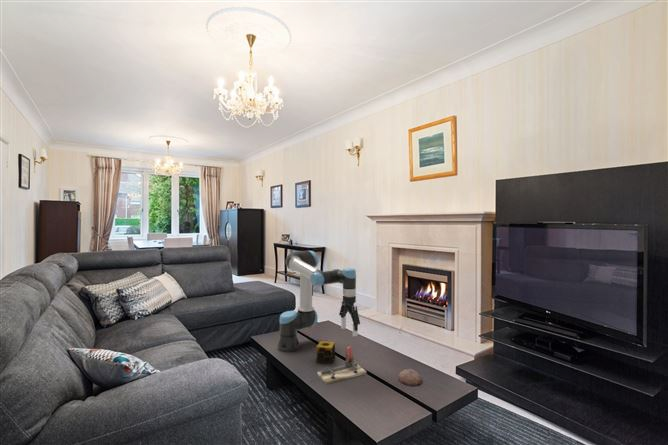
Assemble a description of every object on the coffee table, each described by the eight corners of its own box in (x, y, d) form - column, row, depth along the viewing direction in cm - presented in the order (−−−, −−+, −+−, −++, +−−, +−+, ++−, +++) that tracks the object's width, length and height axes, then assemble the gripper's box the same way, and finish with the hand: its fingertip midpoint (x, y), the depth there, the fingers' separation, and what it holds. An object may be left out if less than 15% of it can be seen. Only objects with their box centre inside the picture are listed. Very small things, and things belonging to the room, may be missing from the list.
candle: (332, 364, 193) (332, 348, 193) (315, 363, 195) (315, 346, 195) (335, 357, 203) (335, 341, 203) (320, 356, 205) (319, 340, 205)
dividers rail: (320, 373, 180) (320, 368, 180) (356, 364, 190) (356, 360, 190) (327, 380, 172) (327, 375, 172) (364, 371, 182) (364, 366, 182)
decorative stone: (413, 389, 166) (413, 378, 166) (393, 380, 174) (393, 370, 174) (425, 380, 174) (425, 370, 174) (406, 373, 183) (406, 363, 182)
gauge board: (317, 374, 181) (317, 371, 181) (355, 365, 192) (355, 362, 192) (326, 383, 170) (326, 381, 170) (366, 373, 182) (366, 371, 182)
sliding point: (344, 366, 188) (344, 346, 188) (351, 364, 190) (350, 345, 190) (353, 373, 179) (353, 353, 179) (359, 371, 181) (359, 351, 181)
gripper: (333, 291, 196) (333, 326, 196) (354, 301, 174) (354, 340, 174) (344, 290, 199) (344, 324, 200) (366, 299, 177) (366, 338, 178)
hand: (349, 332), depth 187 cm, fingers open, 13 cm apart
